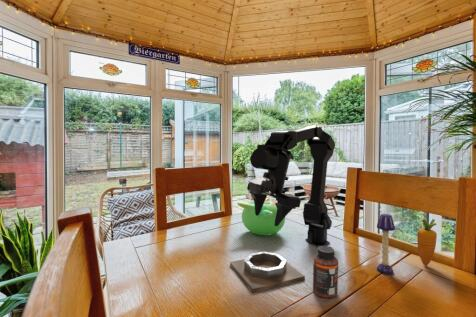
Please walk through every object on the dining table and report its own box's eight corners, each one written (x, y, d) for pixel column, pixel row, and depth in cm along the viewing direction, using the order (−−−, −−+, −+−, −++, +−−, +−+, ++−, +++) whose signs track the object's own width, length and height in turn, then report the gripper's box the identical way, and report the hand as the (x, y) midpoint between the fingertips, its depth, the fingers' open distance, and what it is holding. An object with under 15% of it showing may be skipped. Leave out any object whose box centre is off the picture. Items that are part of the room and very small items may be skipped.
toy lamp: (371, 268, 79) (373, 213, 78) (382, 265, 81) (384, 212, 80) (386, 275, 75) (388, 218, 74) (397, 272, 77) (399, 216, 75)
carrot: (432, 263, 82) (434, 216, 81) (438, 270, 77) (440, 221, 76) (413, 260, 84) (415, 214, 83) (418, 268, 79) (420, 219, 78)
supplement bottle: (339, 300, 63) (340, 255, 62) (313, 297, 64) (314, 253, 64) (335, 287, 69) (336, 245, 68) (312, 284, 70) (312, 243, 70)
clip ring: (272, 257, 85) (272, 249, 84) (293, 273, 74) (293, 265, 74) (239, 263, 80) (239, 255, 80) (256, 282, 70) (256, 273, 69)
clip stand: (274, 256, 88) (274, 253, 87) (304, 279, 73) (304, 276, 73) (230, 265, 81) (230, 261, 81) (252, 292, 67) (252, 288, 67)
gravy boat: (290, 231, 111) (291, 197, 109) (273, 245, 96) (274, 206, 95) (253, 224, 120) (253, 192, 119) (232, 236, 106) (232, 200, 105)
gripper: (239, 162, 83) (228, 209, 84) (279, 174, 68) (266, 232, 69) (265, 166, 90) (255, 210, 91) (307, 179, 75) (294, 232, 75)
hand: (266, 220), depth 81 cm, fingers open, 9 cm apart
